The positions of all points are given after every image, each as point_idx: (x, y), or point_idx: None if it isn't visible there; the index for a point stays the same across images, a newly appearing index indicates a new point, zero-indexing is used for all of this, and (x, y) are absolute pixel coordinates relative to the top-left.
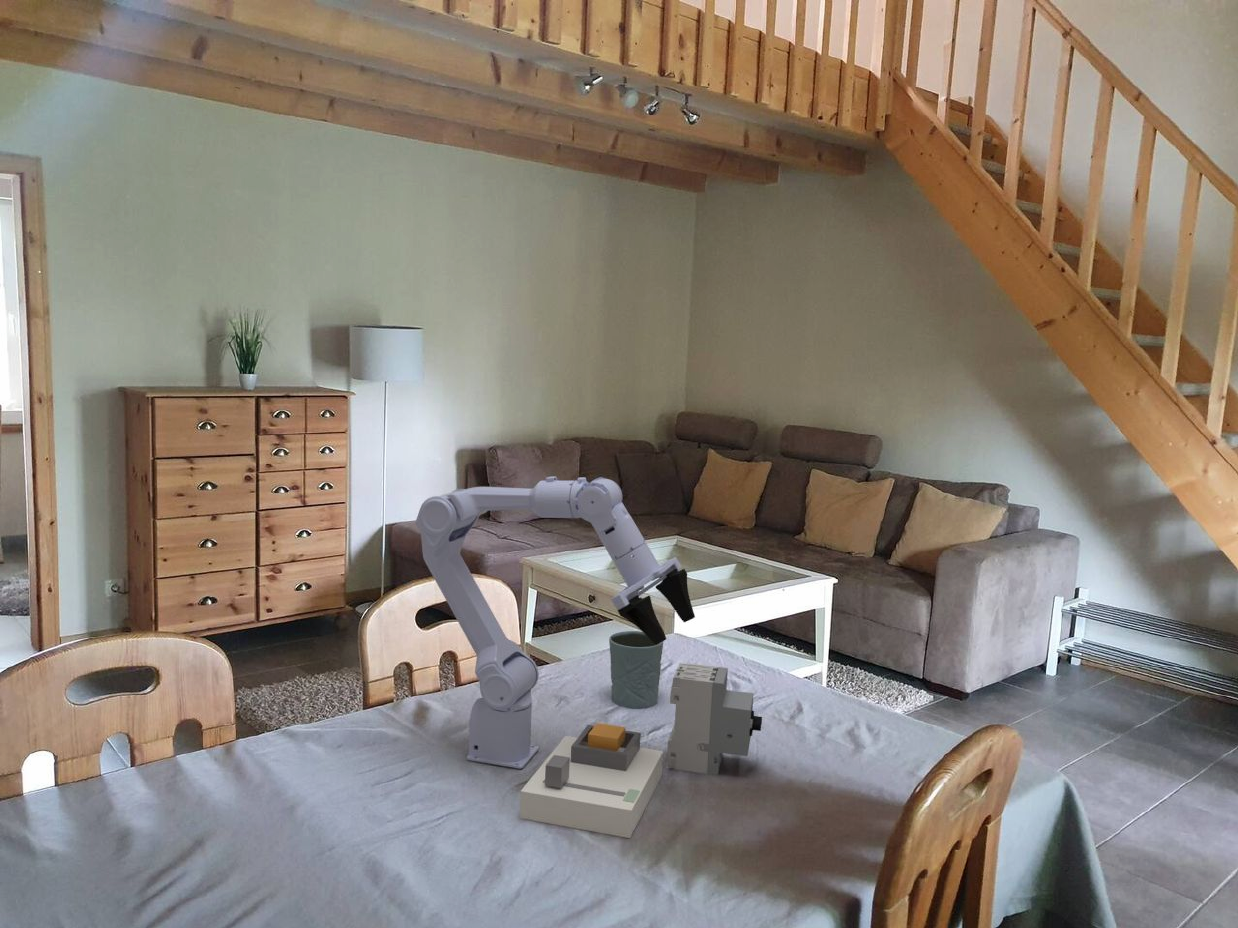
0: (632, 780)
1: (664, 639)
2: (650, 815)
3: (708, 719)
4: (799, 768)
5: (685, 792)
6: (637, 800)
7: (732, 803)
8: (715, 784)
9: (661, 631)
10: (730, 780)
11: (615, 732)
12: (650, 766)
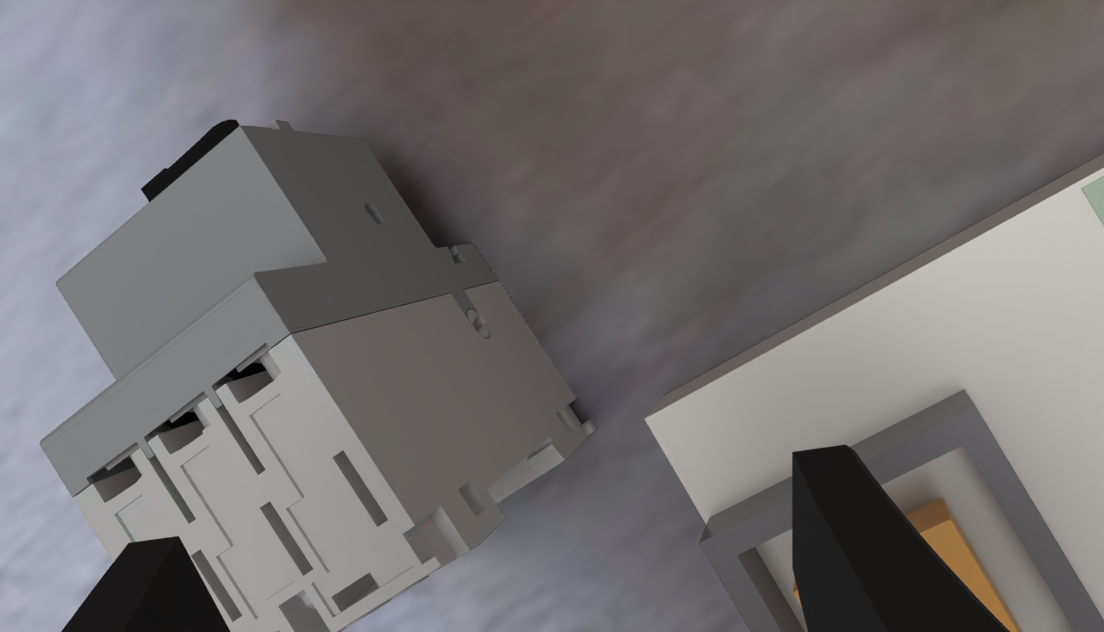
0: (1017, 297)
1: (832, 452)
2: (988, 173)
3: (405, 315)
4: (172, 70)
5: (700, 223)
6: None
7: (617, 28)
8: (544, 191)
9: (872, 515)
10: (467, 176)
11: None
12: (823, 345)
